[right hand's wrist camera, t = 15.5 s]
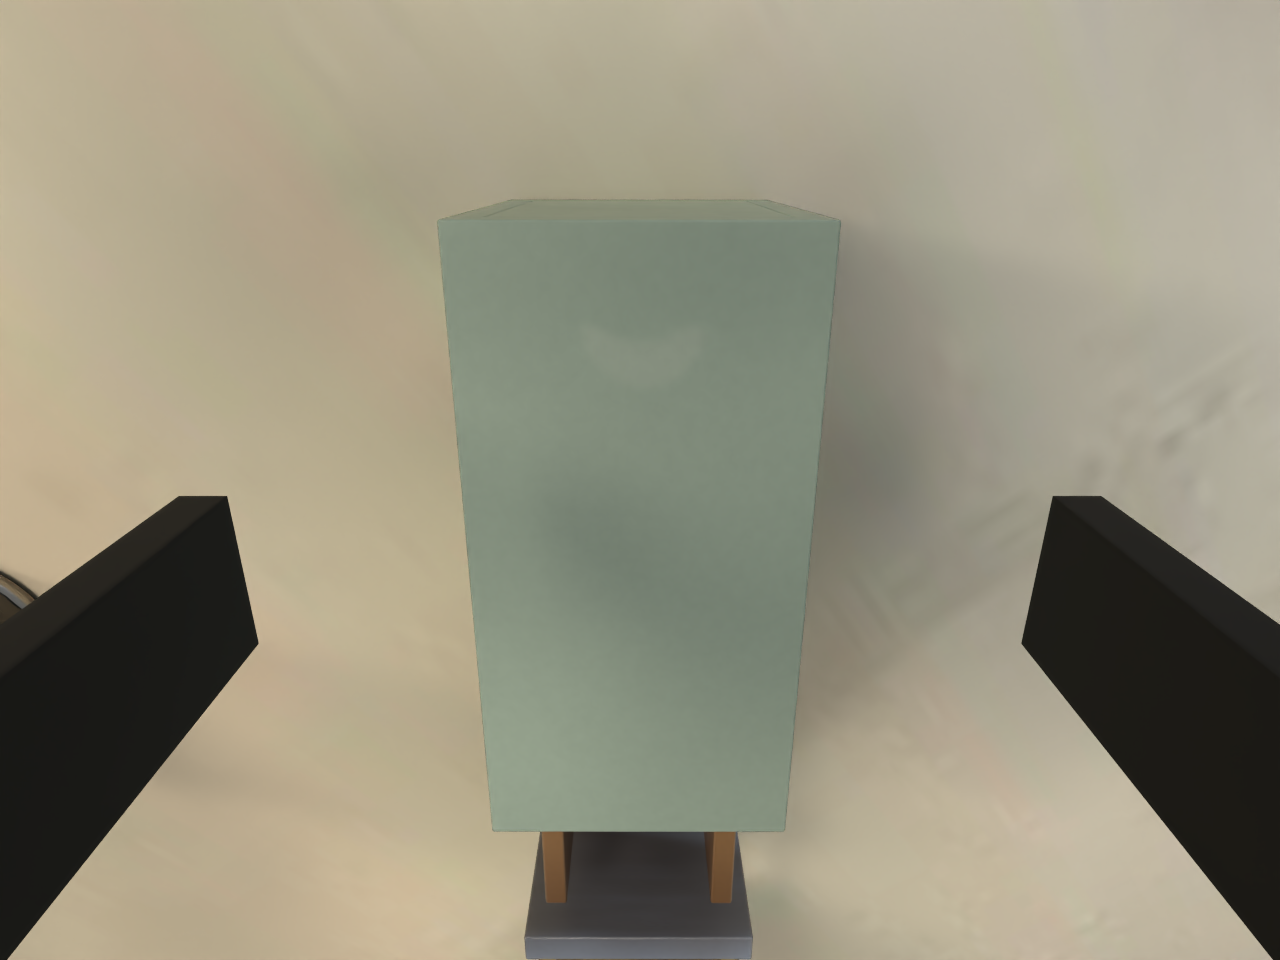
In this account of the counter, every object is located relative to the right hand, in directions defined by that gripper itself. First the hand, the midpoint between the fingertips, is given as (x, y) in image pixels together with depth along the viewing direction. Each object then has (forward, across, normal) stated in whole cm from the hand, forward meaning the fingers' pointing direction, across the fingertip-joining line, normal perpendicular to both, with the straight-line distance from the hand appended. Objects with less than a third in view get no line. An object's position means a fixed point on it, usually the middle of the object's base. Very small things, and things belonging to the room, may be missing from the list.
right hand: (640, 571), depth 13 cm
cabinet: (+20, 0, -5) cm, 21 cm away
